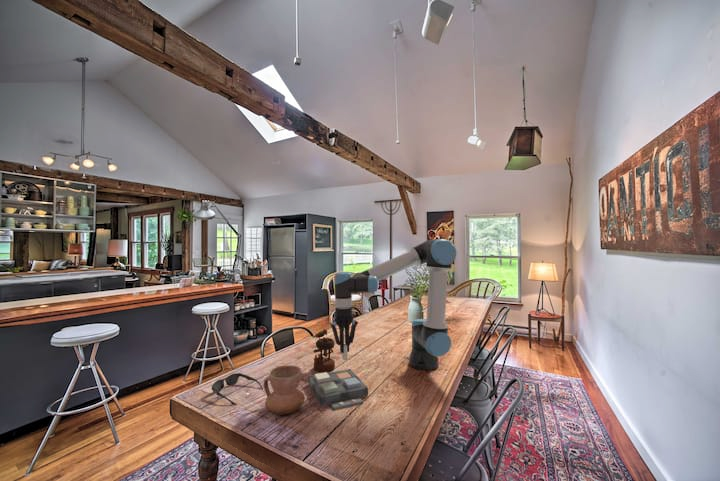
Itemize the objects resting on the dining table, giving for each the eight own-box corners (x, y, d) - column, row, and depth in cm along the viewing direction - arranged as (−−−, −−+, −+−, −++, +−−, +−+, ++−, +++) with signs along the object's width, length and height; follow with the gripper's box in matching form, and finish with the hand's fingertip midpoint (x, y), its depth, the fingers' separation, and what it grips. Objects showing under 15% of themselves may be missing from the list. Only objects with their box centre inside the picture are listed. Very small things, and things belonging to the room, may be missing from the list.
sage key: (333, 386, 124) (333, 381, 124) (337, 392, 119) (337, 387, 119) (320, 389, 122) (320, 384, 122) (324, 395, 117) (324, 390, 117)
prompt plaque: (359, 399, 119) (359, 397, 119) (362, 403, 117) (362, 400, 117) (331, 405, 115) (331, 403, 115) (333, 409, 112) (333, 407, 112)
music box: (322, 376, 140) (320, 333, 142) (307, 372, 147) (304, 331, 149) (344, 365, 152) (341, 326, 154) (328, 362, 159) (326, 324, 160)
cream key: (326, 377, 133) (326, 372, 134) (330, 382, 128) (330, 377, 128) (314, 379, 131) (314, 374, 131) (317, 384, 126) (317, 379, 126)
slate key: (355, 382, 128) (355, 377, 128) (360, 388, 123) (360, 382, 123) (343, 384, 126) (343, 379, 126) (348, 390, 121) (348, 385, 121)
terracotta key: (347, 376, 137) (347, 371, 137) (351, 381, 132) (351, 376, 132) (336, 378, 135) (336, 373, 135) (340, 383, 130) (340, 378, 130)
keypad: (350, 376, 140) (350, 368, 140) (367, 396, 122) (367, 387, 122) (308, 384, 132) (308, 376, 132) (320, 406, 114) (320, 397, 114)
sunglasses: (238, 380, 137) (239, 370, 137) (265, 393, 129) (266, 381, 129) (205, 396, 122) (206, 385, 122) (233, 412, 115) (234, 399, 114)
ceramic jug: (314, 403, 117) (314, 366, 117) (292, 423, 103) (292, 382, 104) (277, 395, 124) (276, 360, 124) (252, 413, 110) (251, 374, 111)
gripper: (353, 303, 140) (355, 354, 140) (327, 306, 135) (328, 359, 135) (360, 306, 133) (361, 359, 133) (332, 310, 128) (333, 365, 128)
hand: (344, 359), depth 134 cm, fingers closed
